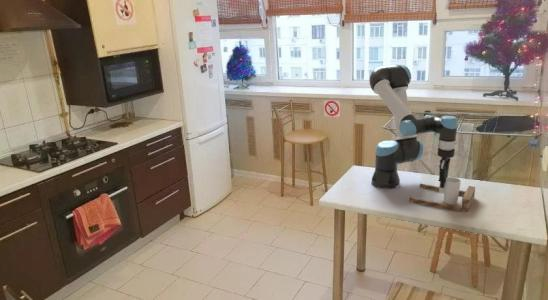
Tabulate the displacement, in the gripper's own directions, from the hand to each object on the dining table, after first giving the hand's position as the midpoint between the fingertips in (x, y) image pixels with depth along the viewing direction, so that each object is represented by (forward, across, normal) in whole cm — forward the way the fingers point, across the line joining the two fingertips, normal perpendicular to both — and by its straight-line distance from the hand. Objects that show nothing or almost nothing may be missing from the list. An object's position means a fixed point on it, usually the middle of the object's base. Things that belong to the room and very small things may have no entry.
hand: (441, 192), depth 211 cm
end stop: (+4, 0, -12) cm, 13 cm away
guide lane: (+4, 0, +1) cm, 4 cm away
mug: (+4, 0, -4) cm, 6 cm away
